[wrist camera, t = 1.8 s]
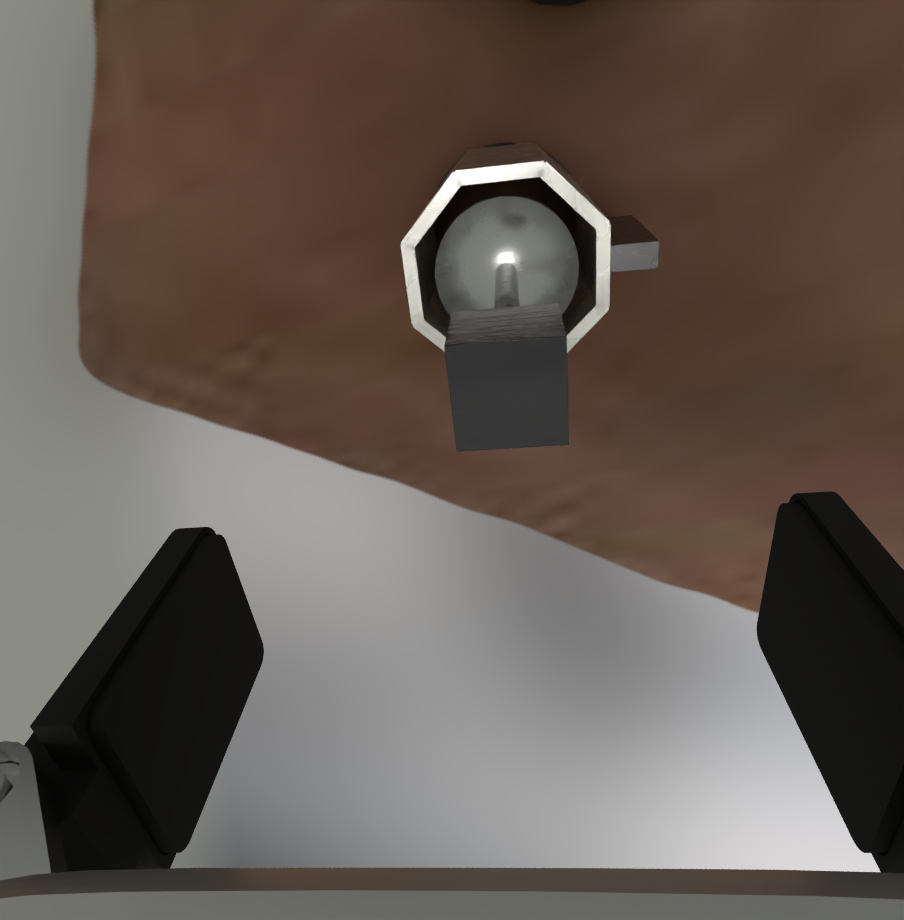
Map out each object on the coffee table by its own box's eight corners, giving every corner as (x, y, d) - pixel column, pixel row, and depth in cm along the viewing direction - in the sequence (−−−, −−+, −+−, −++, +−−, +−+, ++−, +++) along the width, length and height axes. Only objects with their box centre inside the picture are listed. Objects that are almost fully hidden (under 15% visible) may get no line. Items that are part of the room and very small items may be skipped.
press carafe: (623, 128, 36) (672, 143, 25) (619, 293, 40) (659, 362, 30) (420, 152, 37) (388, 175, 27) (439, 308, 42) (418, 380, 31)
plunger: (576, 186, 28) (636, 263, 15) (577, 331, 31) (628, 491, 18) (428, 202, 28) (370, 288, 16) (444, 341, 32) (407, 503, 19)
